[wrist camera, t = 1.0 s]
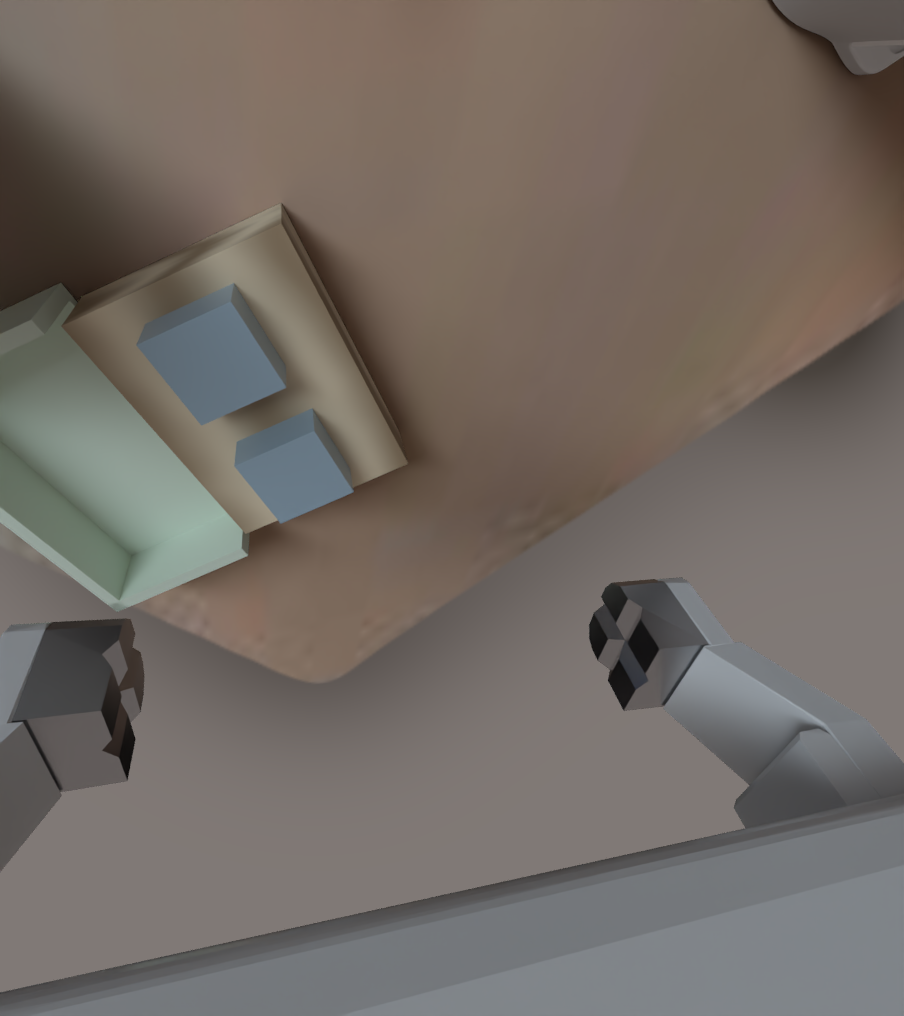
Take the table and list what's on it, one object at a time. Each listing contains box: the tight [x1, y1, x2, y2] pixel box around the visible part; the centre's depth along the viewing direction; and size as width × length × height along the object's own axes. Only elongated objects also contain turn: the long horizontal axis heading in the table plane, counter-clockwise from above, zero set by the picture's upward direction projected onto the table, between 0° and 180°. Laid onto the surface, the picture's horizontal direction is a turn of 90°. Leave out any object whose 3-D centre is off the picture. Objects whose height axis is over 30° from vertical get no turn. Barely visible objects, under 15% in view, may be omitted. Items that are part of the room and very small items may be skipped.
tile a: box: [136, 283, 286, 426], centre depth 30 cm, size 5×5×2 cm
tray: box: [0, 283, 250, 612], centre depth 35 cm, size 10×18×5 cm, turn 20°
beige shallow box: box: [61, 203, 408, 534], centre depth 35 cm, size 12×16×4 cm
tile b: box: [234, 408, 354, 523], centre depth 35 cm, size 5×5×2 cm
